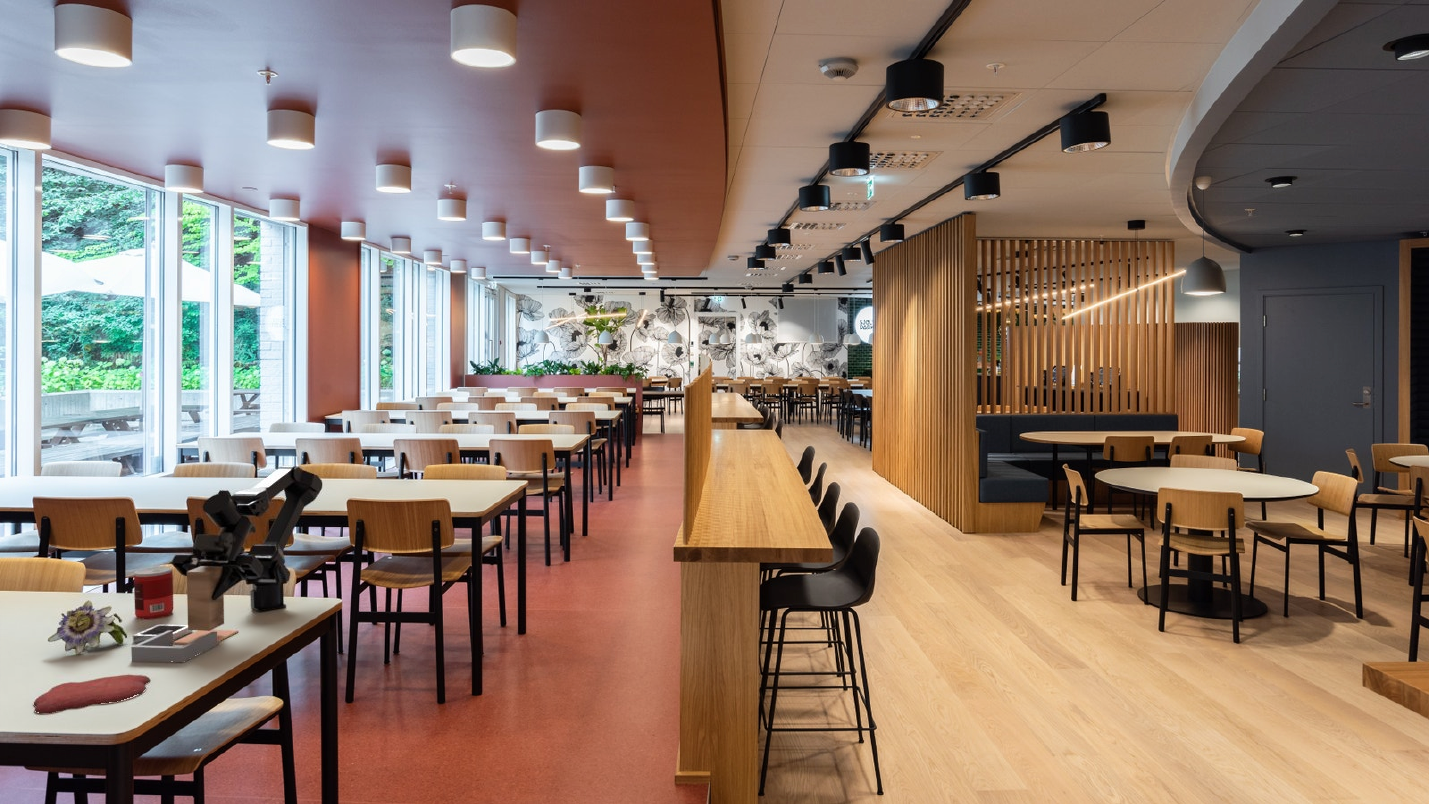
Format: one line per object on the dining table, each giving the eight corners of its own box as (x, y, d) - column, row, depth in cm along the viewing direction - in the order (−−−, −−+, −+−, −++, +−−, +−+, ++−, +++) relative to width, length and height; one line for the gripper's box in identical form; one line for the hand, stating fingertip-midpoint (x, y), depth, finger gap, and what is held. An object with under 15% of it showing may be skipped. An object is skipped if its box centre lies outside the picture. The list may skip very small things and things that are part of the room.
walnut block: (202, 622, 196) (201, 565, 196) (224, 623, 196) (223, 566, 195) (188, 629, 191) (186, 571, 191) (209, 630, 191) (208, 572, 190)
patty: (26, 719, 151) (25, 708, 151) (41, 693, 163) (40, 682, 163) (146, 701, 159) (146, 690, 159) (152, 676, 172) (151, 666, 171)
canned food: (181, 610, 214) (179, 566, 214) (157, 620, 207) (155, 574, 206) (152, 609, 215) (150, 565, 215) (127, 619, 207) (125, 573, 207)
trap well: (158, 630, 199) (158, 624, 199) (192, 631, 198) (192, 625, 198) (133, 642, 191) (133, 635, 191) (168, 643, 190) (168, 636, 190)
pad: (200, 631, 198) (200, 629, 198) (238, 632, 198) (238, 630, 198) (173, 644, 190) (173, 642, 190) (212, 645, 189) (212, 643, 189)
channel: (168, 643, 190) (168, 630, 189) (217, 645, 189) (217, 631, 189) (131, 661, 179) (131, 646, 178) (183, 662, 178) (182, 648, 178)
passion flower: (81, 678, 184) (37, 640, 178) (90, 653, 193) (49, 617, 188) (131, 644, 186) (89, 606, 181) (138, 621, 196) (99, 584, 191)
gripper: (175, 518, 197) (141, 579, 187) (254, 519, 196) (225, 581, 185) (199, 545, 205) (168, 604, 195) (275, 546, 204) (248, 606, 194)
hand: (201, 598), depth 192 cm, fingers closed on walnut block, 5 cm apart
